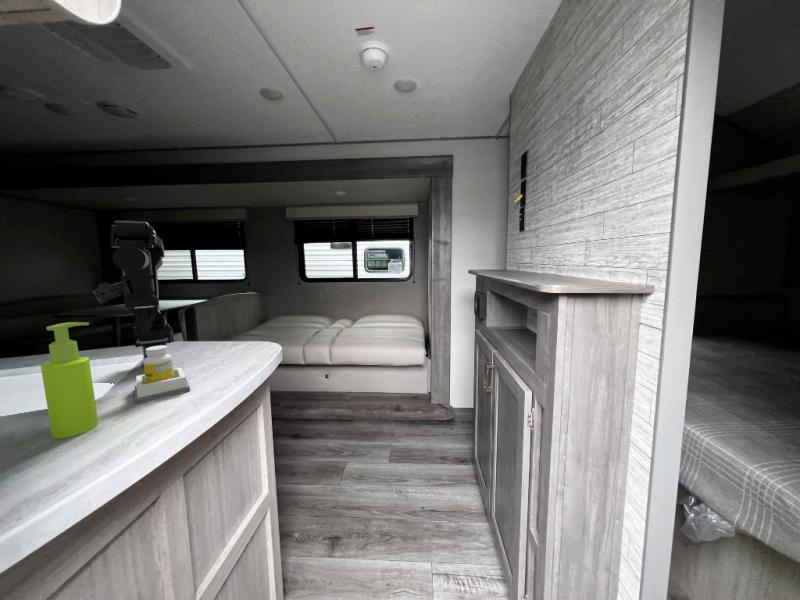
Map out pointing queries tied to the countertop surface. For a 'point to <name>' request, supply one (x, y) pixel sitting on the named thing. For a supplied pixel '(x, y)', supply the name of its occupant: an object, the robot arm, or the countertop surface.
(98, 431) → the countertop surface
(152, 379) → the supplement bottle
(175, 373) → the cream square open box
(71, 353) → the soap dispenser
